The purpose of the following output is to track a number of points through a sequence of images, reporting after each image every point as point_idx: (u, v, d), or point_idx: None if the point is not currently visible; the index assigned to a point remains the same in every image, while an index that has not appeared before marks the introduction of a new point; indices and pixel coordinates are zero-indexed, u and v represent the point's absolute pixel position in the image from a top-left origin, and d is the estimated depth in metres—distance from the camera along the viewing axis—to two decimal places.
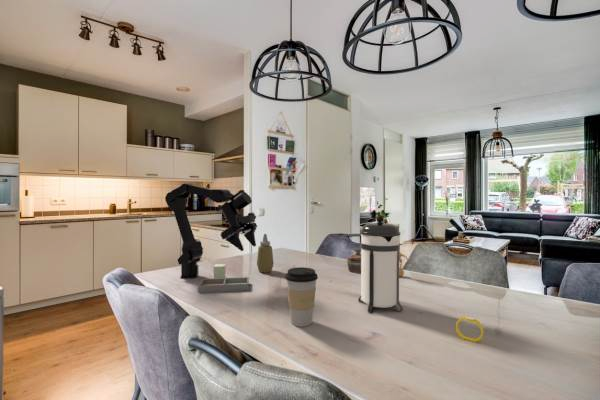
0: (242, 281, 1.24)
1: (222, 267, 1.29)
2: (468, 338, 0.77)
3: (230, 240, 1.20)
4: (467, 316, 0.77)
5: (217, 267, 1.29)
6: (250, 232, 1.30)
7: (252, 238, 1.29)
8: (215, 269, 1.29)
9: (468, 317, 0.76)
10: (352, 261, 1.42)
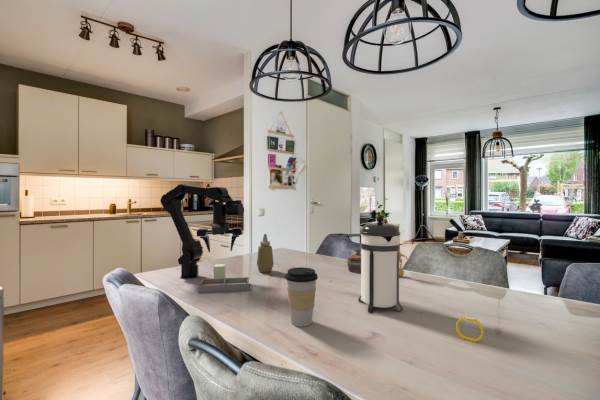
0: (242, 281, 1.24)
1: (222, 267, 1.29)
2: (468, 338, 0.77)
3: None
4: (467, 316, 0.77)
5: (217, 267, 1.29)
6: None
7: (231, 243, 1.31)
8: (215, 269, 1.29)
9: (468, 317, 0.76)
10: (352, 261, 1.42)
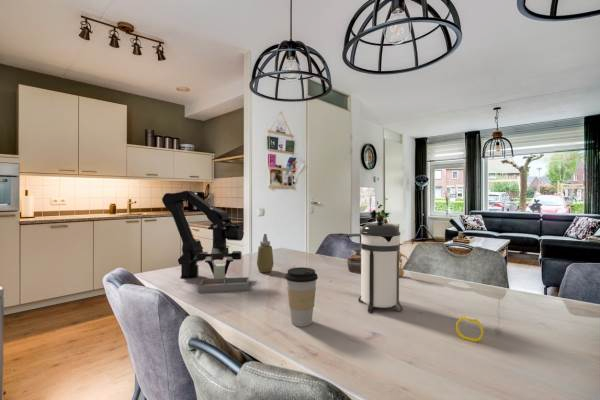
0: (242, 281, 1.24)
1: (222, 267, 1.29)
2: (468, 338, 0.77)
3: None
4: (467, 316, 0.77)
5: (217, 267, 1.29)
6: (226, 261, 1.31)
7: (225, 267, 1.31)
8: (215, 269, 1.29)
9: (468, 317, 0.76)
10: (352, 261, 1.42)
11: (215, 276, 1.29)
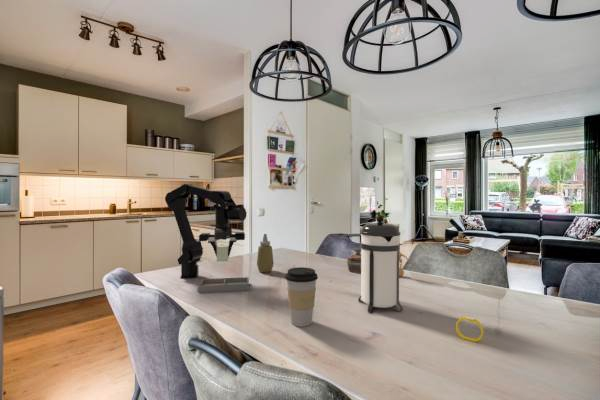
0: (242, 281, 1.24)
1: (225, 248, 1.27)
2: (468, 338, 0.77)
3: None
4: (467, 316, 0.77)
5: (220, 248, 1.27)
6: (229, 242, 1.29)
7: None
8: (218, 250, 1.27)
9: (468, 317, 0.76)
10: (352, 261, 1.42)
11: (218, 257, 1.27)
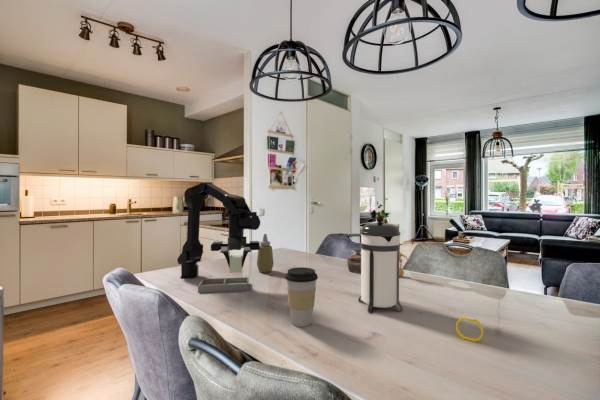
0: (242, 281, 1.24)
1: (239, 258, 1.18)
2: (468, 338, 0.77)
3: None
4: (467, 316, 0.77)
5: (233, 258, 1.17)
6: (243, 252, 1.19)
7: (242, 259, 1.19)
8: (231, 260, 1.17)
9: (468, 317, 0.76)
10: (352, 261, 1.42)
11: (231, 268, 1.17)
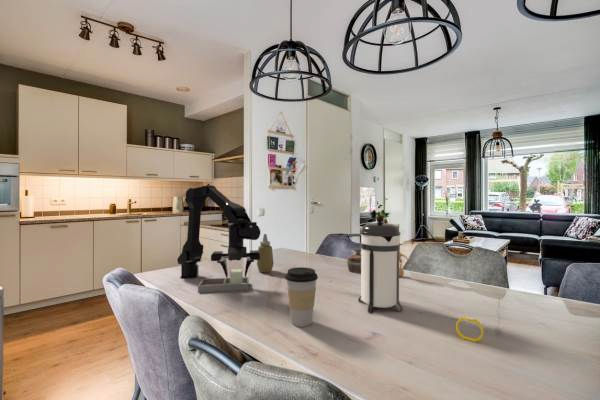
0: (242, 281, 1.24)
1: (239, 273, 1.18)
2: (468, 338, 0.77)
3: None
4: (467, 316, 0.77)
5: (234, 273, 1.17)
6: (246, 261, 1.19)
7: None
8: (231, 275, 1.17)
9: (468, 317, 0.76)
10: (352, 261, 1.42)
11: (231, 283, 1.17)
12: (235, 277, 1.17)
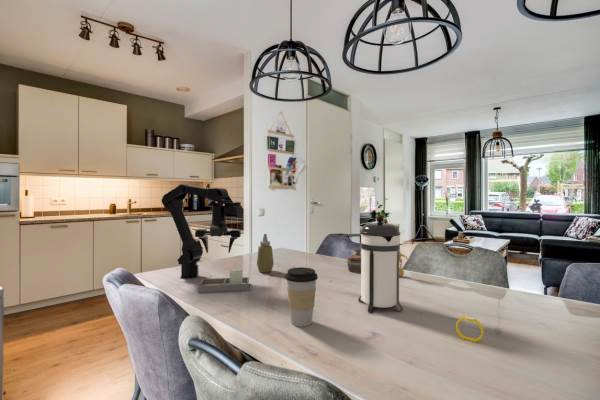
0: (242, 281, 1.24)
1: (239, 273, 1.18)
2: (468, 338, 0.77)
3: None
4: (467, 316, 0.77)
5: (234, 273, 1.17)
6: (230, 239, 1.30)
7: (229, 245, 1.30)
8: (231, 275, 1.17)
9: (468, 317, 0.76)
10: (352, 261, 1.42)
11: (231, 283, 1.17)
12: (235, 277, 1.17)
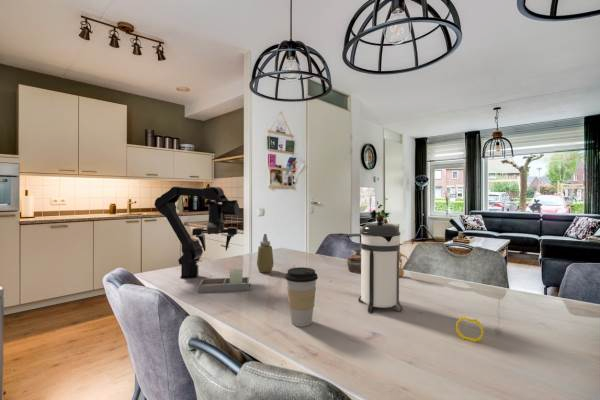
0: (242, 281, 1.24)
1: (239, 273, 1.18)
2: (468, 338, 0.77)
3: None
4: (467, 316, 0.77)
5: (234, 273, 1.17)
6: (227, 236, 1.33)
7: (226, 243, 1.33)
8: (231, 275, 1.17)
9: (468, 317, 0.76)
10: (352, 261, 1.42)
11: (231, 283, 1.17)
12: (235, 277, 1.17)
